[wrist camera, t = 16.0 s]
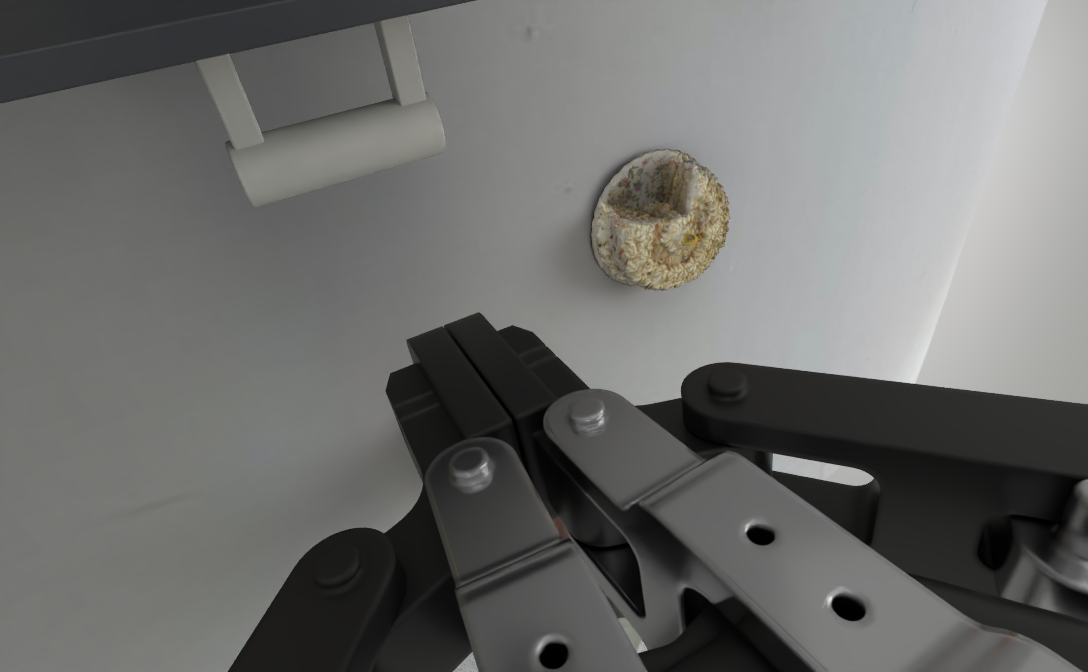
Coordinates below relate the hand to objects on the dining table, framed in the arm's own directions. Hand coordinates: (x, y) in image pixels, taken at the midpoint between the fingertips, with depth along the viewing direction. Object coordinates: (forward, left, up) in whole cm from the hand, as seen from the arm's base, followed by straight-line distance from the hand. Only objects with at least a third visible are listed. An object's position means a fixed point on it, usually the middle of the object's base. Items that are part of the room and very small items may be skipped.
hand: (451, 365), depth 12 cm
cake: (+20, +10, -25) cm, 34 cm away
